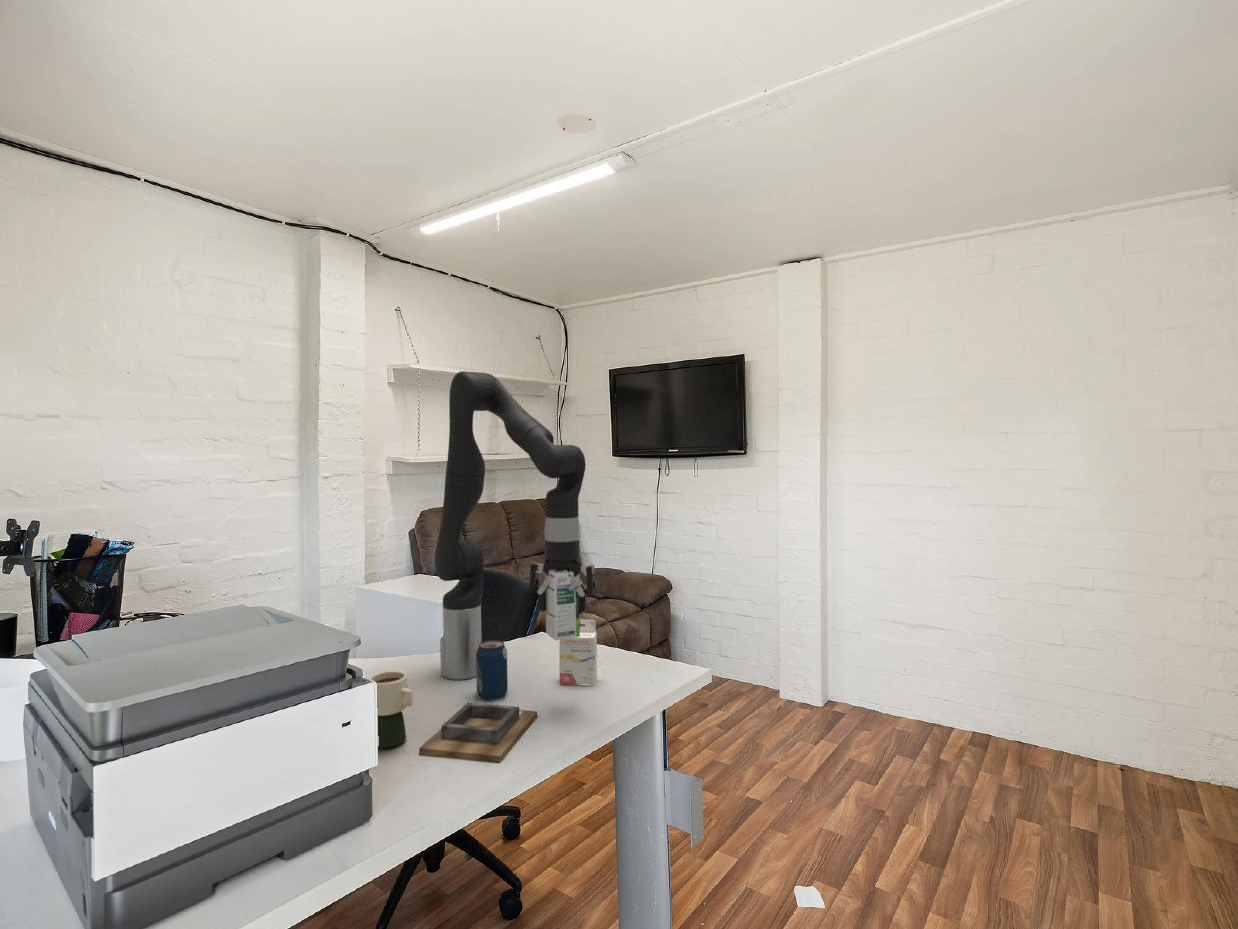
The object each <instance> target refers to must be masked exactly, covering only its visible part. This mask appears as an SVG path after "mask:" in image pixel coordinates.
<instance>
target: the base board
mask: <svg viewBox="0 0 1238 929" xmlns="http://www.w3.org/2000/svg"><path fill="white" fill-rule="evenodd" d="M537 718H538V711H537V710H525V709H520V706H513V705H503V704H502V705H501V704H500V705H499V704H488V703H487V704H486V703H474V702H467V703H465V704H464V705H463V706H461V708H460V709H459V710H458V711H457V712H455V713H454V714H453V715H452V716H451V717H450V718H448V720H446V721H445V722H444V723H443V724H442V725H441V726H440V727H441V728H439V730H437V731H436V733H434V734H433V735H432V736H431V737H430V738H429V739H427V741H425V742H424V743H423V744H422V745H420V746H419V748H418V750H419V751H418V754H419V755H421V756H429V757H430V756H433V757H441V758H450V759H460V760H461V759H462V760H470V761H481V762H490V763H491V762H492V763H501V762H502V761H503V759H505V757H506V756H507V755H508V753H510V751H511V750H512V749H513V747H514V746H515V745H516V744H517V743H518V742H519V740H520V739H521V737H522V736H523V735H524V734H525V733H526V732H527V730H528V729H529V728H530V727H531V726H532V724H533V723H534V722H535V720H536V719H537Z"/></svg>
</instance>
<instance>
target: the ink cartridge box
mask: <svg viewBox="0 0 1238 929" xmlns="http://www.w3.org/2000/svg"><path fill="white" fill-rule="evenodd" d="M596 624H597V623H596V620H595V619H582V618H580V625H585V626H580V636H579V637H574V638H567V639H560V640H559V685H560V684H588V685H594V684H596V682H595V681H597V678H598V671H597V669H598V668H597V667H598V666H597V663H598V661H597V659H598V658H597V656H598V655H597V653H598V647H597V646H598V645H597V644H598V642H597V638H598V636H597V630H596V629H597V625H596ZM594 686H595V685H594Z"/></svg>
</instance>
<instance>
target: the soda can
mask: <svg viewBox="0 0 1238 929" xmlns="http://www.w3.org/2000/svg"><path fill="white" fill-rule="evenodd" d="M508 679H509V678H508V650H507V648H506V646H505V642H504V641H502V640H497V639H496V640H495V639H494V640H493V639H492V640H491V639H490V640H485V641H481V643H480V644H479V647H478V649H477V652H476V694H477V695H478V697H479V698H480V699H481V700H482V699H483V701H487V702H488V701H491V700H493V701H497V699H498V700H500V698H501V699H503V698H504V697H505V696H506V694H507V692H508V689H509V688H508V685H509V684H508ZM502 697H503V698H502Z"/></svg>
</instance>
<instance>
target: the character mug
mask: <svg viewBox="0 0 1238 929" xmlns="http://www.w3.org/2000/svg"><path fill="white" fill-rule="evenodd" d="M369 679H370V680H373V681H375V682H376V684H377V708H378V736H379V747H378V748H390V747H392V746H396V745H398V744H400V743H402V742H404V741H406V740H407V734H406V725H405V719H404V713H403V712H402V711H404V710H405V709H406V708H407V707H410V706H412V704H413V690H412V689H411V688H409V686H408V674H407V673H406V672H405V671H402V670H388V671H381V672H378V673H374V674H373V675H371V676H369V677H368V680H369Z"/></svg>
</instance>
